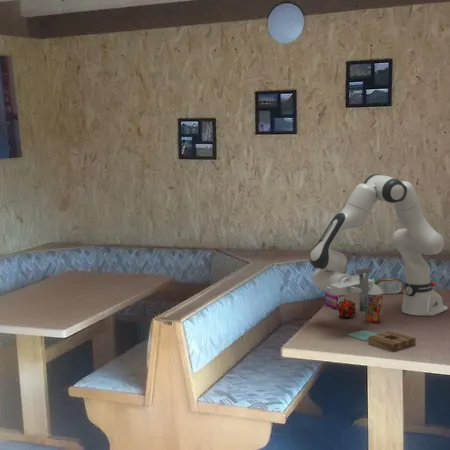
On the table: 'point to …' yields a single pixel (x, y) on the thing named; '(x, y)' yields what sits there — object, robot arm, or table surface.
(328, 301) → the candy bar box
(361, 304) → the gunmetal T-key
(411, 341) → the walnut key-slot block
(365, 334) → the teal rubber mat
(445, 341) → the table surface
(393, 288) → the digital desk clock
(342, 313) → the dragon fruit
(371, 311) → the smoothie
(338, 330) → the table surface
